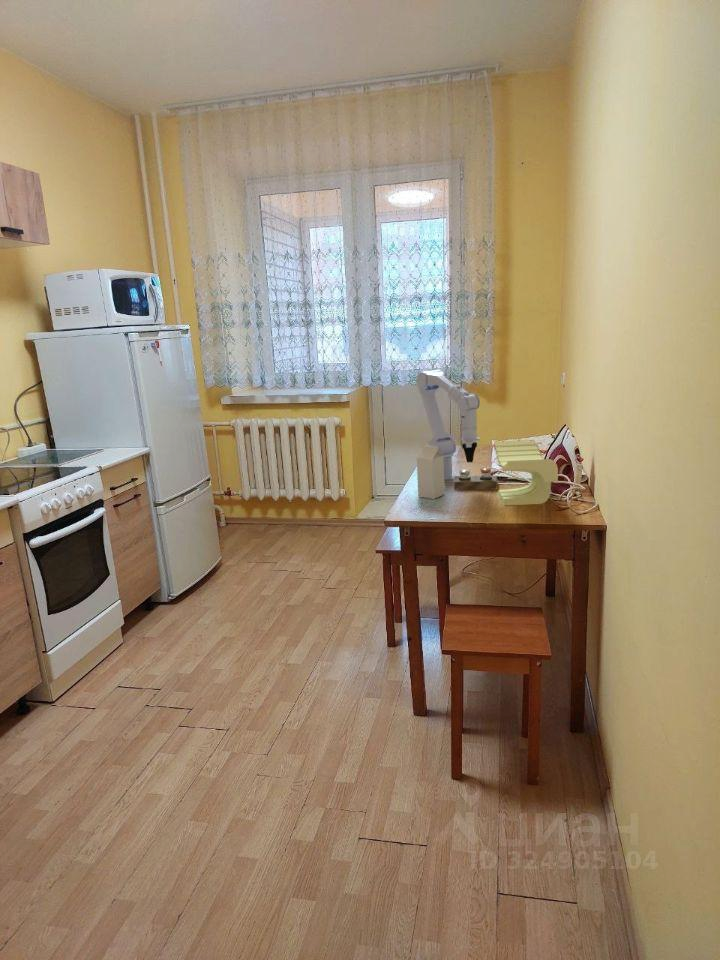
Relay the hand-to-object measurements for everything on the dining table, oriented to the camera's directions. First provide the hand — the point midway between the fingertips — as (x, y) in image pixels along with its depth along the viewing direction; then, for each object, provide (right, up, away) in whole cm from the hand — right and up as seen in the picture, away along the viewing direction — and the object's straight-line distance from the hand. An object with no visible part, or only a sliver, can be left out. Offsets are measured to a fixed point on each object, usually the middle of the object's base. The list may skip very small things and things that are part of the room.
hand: (469, 462), depth 226 cm
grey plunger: (-1, -7, +3) cm, 8 cm away
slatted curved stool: (+16, -14, -16) cm, 27 cm away
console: (+3, -9, +2) cm, 10 cm away
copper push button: (+6, -7, +1) cm, 9 cm away
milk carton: (-15, -13, -6) cm, 21 cm away
